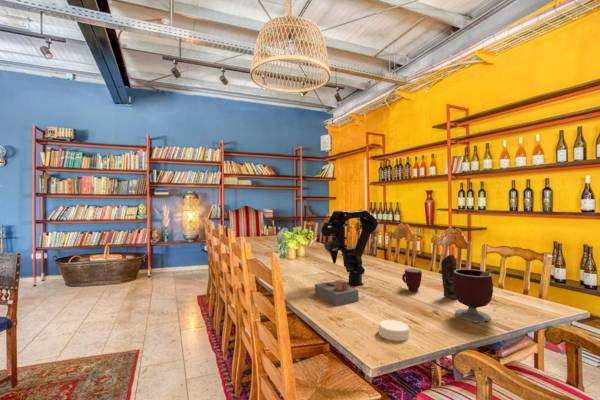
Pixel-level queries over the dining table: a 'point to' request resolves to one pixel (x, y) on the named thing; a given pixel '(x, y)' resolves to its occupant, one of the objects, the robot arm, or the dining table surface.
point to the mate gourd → (473, 292)
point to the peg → (341, 285)
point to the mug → (412, 278)
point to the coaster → (394, 330)
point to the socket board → (335, 294)
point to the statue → (448, 275)
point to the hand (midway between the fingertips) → (339, 265)
